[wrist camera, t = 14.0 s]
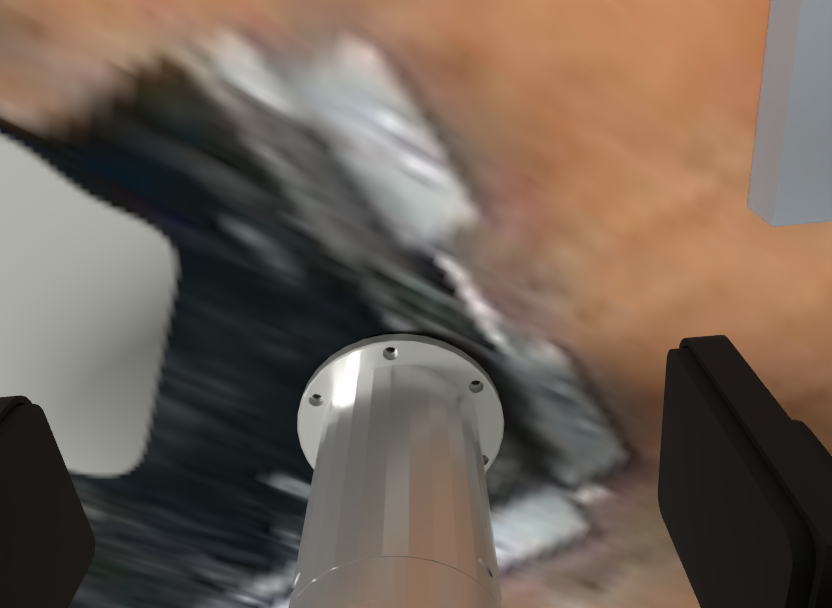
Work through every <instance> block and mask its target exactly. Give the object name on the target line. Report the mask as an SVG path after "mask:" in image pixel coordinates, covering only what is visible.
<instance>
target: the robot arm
mask: <svg viewBox="0 0 832 608" xmlns="http://www.w3.org/2000/svg"><path fill="white" fill-rule="evenodd" d="M388 347H392V348H393V349H389V348H388ZM475 380H477V381H475ZM297 431H298V435H299V440H300V445H301V448H302V450H303V452H304V454H305V456H306V459H307V461H308V462H309V463H310V465H311V466H312V468H313V469H314V473H313V479H312V484H311V490H310V495H309V500H308V506H307V511H306V517H305V522H304V527H303V533H302V538H301V544H300V549H299V555H298V560H297V565H296V571H295V576H294V582H293V587H292V592H291V598H290V603H289V608H503V603H502V596H501V588H500V581H499V573H498V566H497V558H496V551H495V543H494V536H493V528H492V521H491V513H490V506H489V498H488V491H487V483H486V476H485V473H486V472H487V471H488V469H489V468H490V467H491V465H492V464H493V462H494V460H495V458H496V456H497V455H498V453H499V450H500V446H501V443H502V440H503V432H504V417H503V411H502V405H501V401H500V398H499V395H498V391H497V389H496V387H495V385H494V384H493V382H492V380H491V378H490V377H489V375H488V374H487V373H486V372H485V370H484V369H483V368H482V367H481V366H480V365H479V364H478V363H477V362H476V361H475V360H474V359H472V358H471V357H470V356H469V355H467V354H466V353H465V352H463V351H462V350H460V349H458V348H456V347H454V346H452V345H450V344H448V343H446V342H443V341H440V340H437V339H433V338H430V337H426V336H420V335H412V334H387V335H380V336H375V337H371V338H366V339H363V340H360V341H358V342H356V343H353V344H351V345H348V346H346V347H344V348H343V349H341V350H340V351H338V352H336V353H335V354H333V355H332V356H330V357H329V358H328V359H327V360H326V361H325V362H324V363H323V364H322V365H321V366H320V367H319V368H318V369H317V370H316V371H315V373H314V374H313V376H312V377H311V379H310V380H309V382H308V383H307V386H306V388H305V391H304V393H303V396H302V398H301V403H300V408H299V412H298V430H297ZM658 501H659V507H660V511H661V515H662V518H663V520H664V522H665V525H666V527H667V529H668V532H669V534H670V537H671V539H672V541H673V544H674V546H675V548H676V551H677V553H678V555H679V558H680V560H681V562H682V565H683V567H684V569H685V572H686V574H687V576H688V579H689V581H690V583H691V586H692V588H693V590H694V593H695V595H696V598H697V600H698V602H699V605H700V607H701V608H832V456H831V455H830V454H829V452H828V451H827V450H826V449H825V447H824V446H823V445H822V444H821V442H820V441H819V440H818V439H817V437H816V436H815V435H814V434H813V432H812V431H811V430H810V429H809V428H808V427H807V426H806V425H805V424H804V423H803V422H801V421H798V420H791V419H790V418H789V416H788V415H787V414H786V412H785V411H784V410H783V409H782V407H781V406H780V405H779V403H778V402H777V401H776V399H775V398H774V397H773V396H772V394H771V393H770V392H769V390H768V389H767V388H766V387H765V385H764V384H763V383H762V381H761V380H760V379H759V378H758V376H757V375H756V374H755V372H754V371H753V370H752V369H751V367H750V366H749V365H748V363H747V362H746V361H745V360H744V358H743V357H742V356H741V354H740V353H739V352H738V351H737V349H736V348H735V347H734V345H733V344H732V343H731V342H730V340H729V339H728V338H727V337H726V336H725V335H715V336H704V337H692V338H684V339H683V340H681V343H680V346H679V349H670V350H669V352H668V355H667V364H666V378H665V393H664V408H663V423H662V437H661V452H660V467H659V482H658ZM94 552H95V539H94V535H93V532H92V530H91V527H90V525H89V522H88V520H87V517H86V515H85V512H84V510H83V507H82V505H81V502H80V500H79V498H78V495H77V493H76V490H75V488H74V485H73V483H72V480H71V478H70V475H69V473H68V470H67V468H66V465H65V463H64V460H63V458H62V455H61V453H60V451H59V448H58V446H57V443H56V441H55V438H54V436H53V433H52V431H51V429H50V426H49V423H48V421H47V419H46V416H45V414H44V412H43V410H42V408H41V407H40V406H39V405H36V404H32V403H31V401H30V400H29V399H28V398H27V397H24V396H10V397H0V608H68V607H69V605H70V603H71V601H72V599H73V597H74V595H75V593H76V591H77V589H78V587H79V585H80V583H81V581H82V580H83V578H84V576H85V574H86V572H87V570H88V568H89V566H90V564H91V562H92V559H93V557H94Z"/></svg>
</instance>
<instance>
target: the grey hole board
mask: <svg viewBox="0 0 832 608" xmlns="http://www.w3.org/2000/svg"><path fill="white" fill-rule="evenodd" d="M747 207H748V208H750V209H751V210H752V211H753V212H755V213H756V214H757V215H758V216H759V217H761V218H762V219H763V220H764V221H766V222H767V223H768V224H769V225H770V226H772V227H774V226H785V225H796V224H806V223H817V222H828V221H832V0H771V3H770V12H769V20H768V29H767V38H766V47H765V56H764V64H763V73H762V82H761V91H760V99H759V108H758V117H757V126H756V134H755V143H754V152H753V161H752V170H751V178H750V187H749V196H748V205H747Z"/></svg>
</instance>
